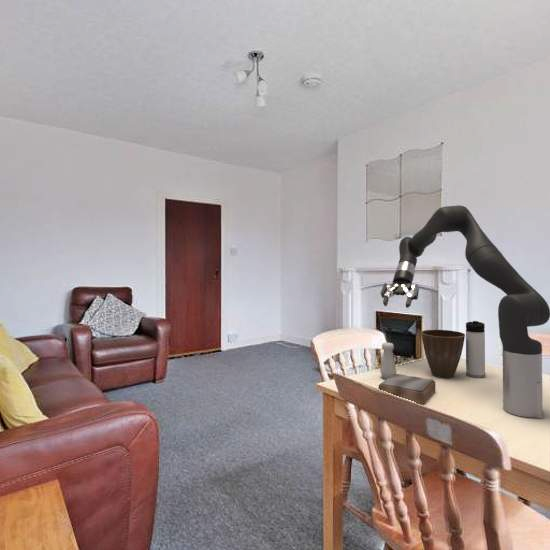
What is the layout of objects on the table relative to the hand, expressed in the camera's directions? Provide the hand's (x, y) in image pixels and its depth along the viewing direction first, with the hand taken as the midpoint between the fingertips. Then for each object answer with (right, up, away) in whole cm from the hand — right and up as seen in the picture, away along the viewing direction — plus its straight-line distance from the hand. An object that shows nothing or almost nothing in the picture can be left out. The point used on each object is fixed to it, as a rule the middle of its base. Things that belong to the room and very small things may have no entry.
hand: (395, 305), depth 145 cm
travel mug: (+27, -26, -7) cm, 38 cm away
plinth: (-4, -27, -25) cm, 37 cm away
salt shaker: (-5, -26, -8) cm, 28 cm away
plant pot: (+16, -26, -6) cm, 31 cm away
